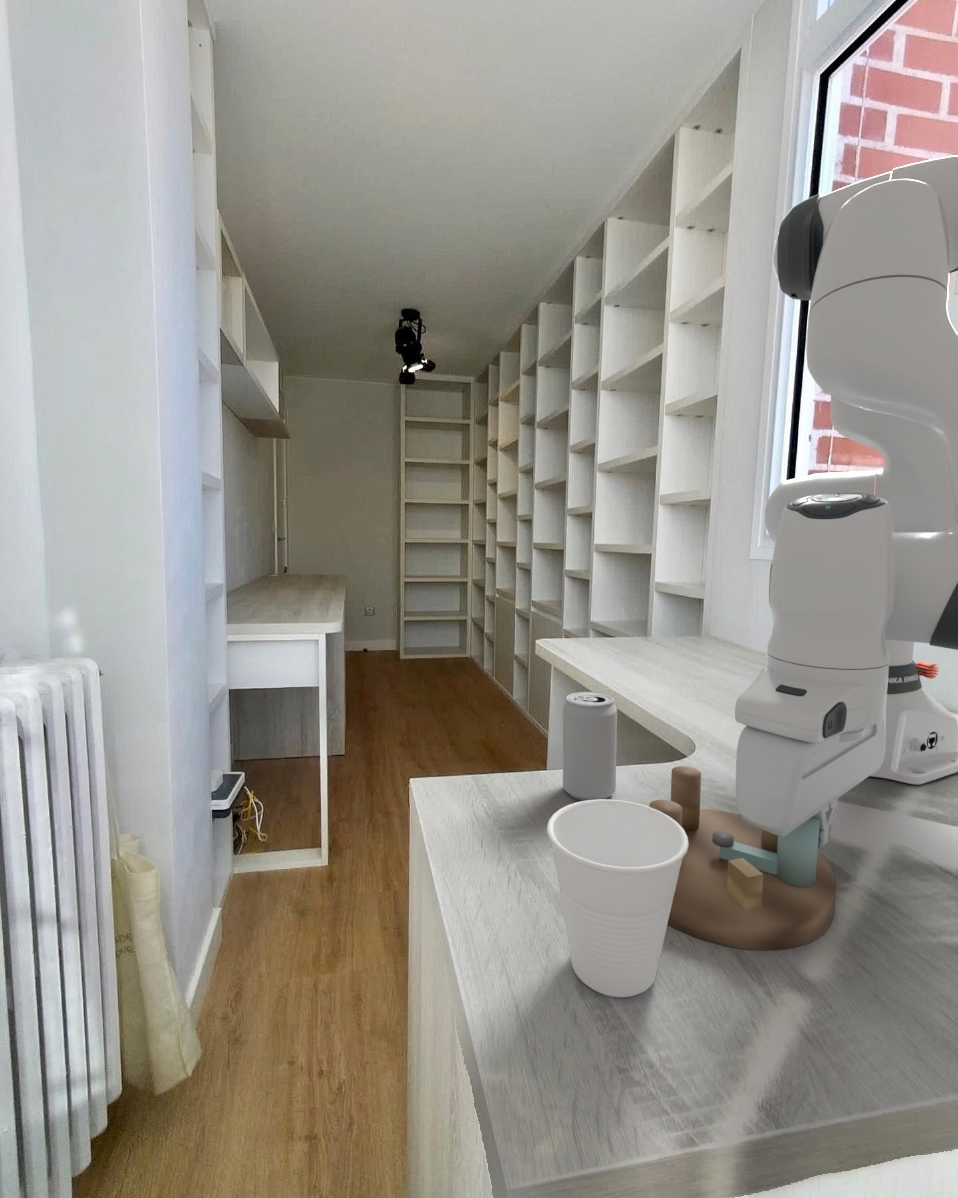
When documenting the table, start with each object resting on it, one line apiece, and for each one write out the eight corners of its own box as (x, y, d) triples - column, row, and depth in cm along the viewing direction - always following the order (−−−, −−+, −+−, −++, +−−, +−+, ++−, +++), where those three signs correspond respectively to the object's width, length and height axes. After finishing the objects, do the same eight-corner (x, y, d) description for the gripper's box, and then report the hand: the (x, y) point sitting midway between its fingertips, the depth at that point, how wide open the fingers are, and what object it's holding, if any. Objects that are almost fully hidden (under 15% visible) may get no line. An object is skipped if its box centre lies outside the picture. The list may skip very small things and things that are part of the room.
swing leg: (707, 859, 54) (709, 802, 54) (716, 844, 57) (718, 790, 56) (812, 891, 50) (817, 829, 49) (817, 874, 52) (821, 814, 51)
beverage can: (616, 806, 70) (618, 706, 68) (560, 802, 71) (561, 704, 70) (615, 783, 76) (616, 691, 75) (564, 779, 77) (564, 688, 76)
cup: (657, 922, 50) (661, 796, 48) (705, 1021, 40) (712, 867, 39) (538, 926, 50) (538, 800, 48) (557, 1027, 40) (558, 872, 38)
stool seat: (740, 821, 66) (743, 751, 65) (887, 926, 49) (895, 834, 48) (589, 844, 62) (590, 770, 61) (692, 970, 45) (696, 869, 44)
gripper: (836, 661, 59) (828, 794, 61) (722, 706, 47) (717, 870, 49) (911, 674, 54) (900, 818, 56) (807, 728, 42) (796, 910, 44)
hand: (814, 843), depth 52 cm, fingers closed, pressing on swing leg
